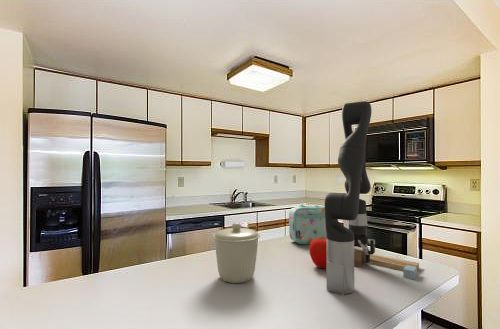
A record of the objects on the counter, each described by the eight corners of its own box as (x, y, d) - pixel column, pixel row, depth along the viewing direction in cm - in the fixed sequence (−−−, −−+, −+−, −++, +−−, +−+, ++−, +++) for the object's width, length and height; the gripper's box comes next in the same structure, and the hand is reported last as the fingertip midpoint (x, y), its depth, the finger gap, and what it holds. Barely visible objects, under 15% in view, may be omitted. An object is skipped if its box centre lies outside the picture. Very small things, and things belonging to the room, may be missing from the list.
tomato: (333, 263, 121) (333, 234, 121) (339, 272, 110) (339, 240, 110) (307, 262, 122) (307, 233, 122) (310, 271, 111) (310, 240, 111)
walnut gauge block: (360, 267, 116) (360, 253, 116) (350, 265, 119) (350, 251, 119) (365, 263, 120) (365, 250, 120) (355, 261, 123) (355, 248, 123)
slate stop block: (413, 279, 103) (413, 271, 103) (403, 276, 105) (403, 269, 105) (416, 274, 107) (416, 267, 107) (406, 272, 110) (406, 264, 110)
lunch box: (293, 246, 148) (293, 206, 148) (286, 241, 158) (286, 204, 158) (337, 242, 154) (337, 204, 154) (328, 238, 164) (327, 202, 164)
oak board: (415, 273, 109) (415, 268, 109) (350, 259, 126) (350, 254, 126) (419, 267, 115) (418, 262, 115) (356, 255, 132) (356, 250, 132)
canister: (255, 290, 94) (255, 228, 95) (205, 285, 98) (205, 226, 98) (263, 270, 112) (263, 219, 112) (221, 267, 116) (221, 217, 116)
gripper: (338, 222, 122) (338, 259, 121) (372, 227, 112) (372, 267, 112) (345, 220, 127) (345, 255, 127) (377, 224, 118) (378, 262, 118)
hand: (358, 261), depth 119 cm, fingers open, 7 cm apart
